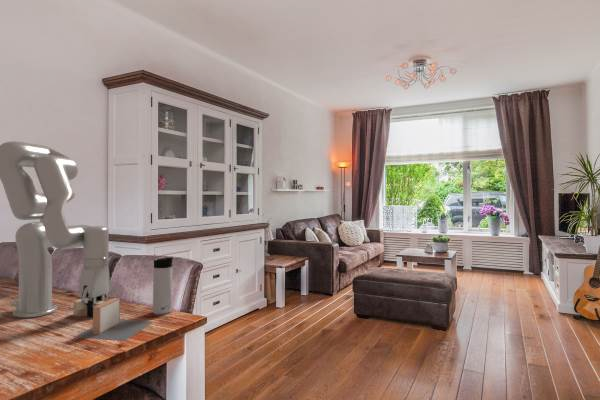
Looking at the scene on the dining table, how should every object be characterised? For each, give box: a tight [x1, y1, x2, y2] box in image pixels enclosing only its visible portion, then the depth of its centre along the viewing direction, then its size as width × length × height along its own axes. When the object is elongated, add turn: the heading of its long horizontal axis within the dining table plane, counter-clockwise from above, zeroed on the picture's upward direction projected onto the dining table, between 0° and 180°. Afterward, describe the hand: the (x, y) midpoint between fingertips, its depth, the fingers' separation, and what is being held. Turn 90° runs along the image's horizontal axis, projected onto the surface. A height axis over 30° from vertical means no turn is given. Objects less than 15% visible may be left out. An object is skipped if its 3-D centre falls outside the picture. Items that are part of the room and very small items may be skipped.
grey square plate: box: [73, 319, 154, 342], centre depth 115 cm, size 16×16×1 cm
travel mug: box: [152, 256, 174, 316], centre depth 132 cm, size 6×7×20 cm
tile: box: [92, 297, 121, 335], centre depth 116 cm, size 2×10×8 cm, turn 173°
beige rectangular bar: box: [72, 298, 126, 317], centre depth 128 cm, size 19×5×5 cm, turn 83°
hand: (95, 316), depth 128 cm, fingers closed on beige rectangular bar, 2 cm apart
